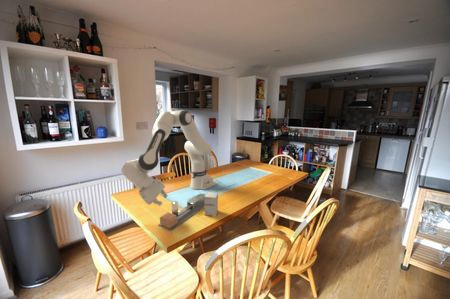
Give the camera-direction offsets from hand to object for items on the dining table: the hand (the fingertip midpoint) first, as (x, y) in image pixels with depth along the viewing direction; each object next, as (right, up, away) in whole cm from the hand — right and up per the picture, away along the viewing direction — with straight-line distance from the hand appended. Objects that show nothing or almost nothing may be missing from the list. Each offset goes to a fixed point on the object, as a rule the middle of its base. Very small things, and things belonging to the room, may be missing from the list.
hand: (164, 200), depth 114 cm
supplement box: (+27, -11, +12) cm, 31 cm away
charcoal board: (+11, -11, +11) cm, 19 cm away
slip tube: (+9, -10, +7) cm, 15 cm away
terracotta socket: (+3, -13, -2) cm, 14 cm away
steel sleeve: (+16, -8, +20) cm, 27 cm away
